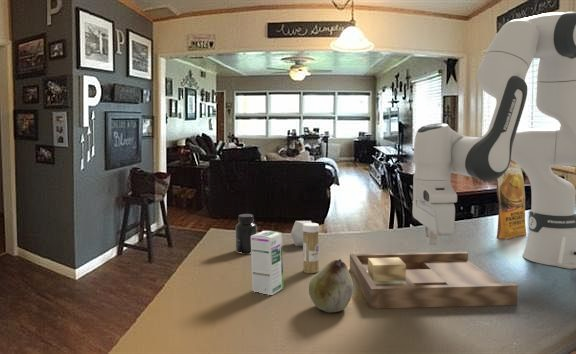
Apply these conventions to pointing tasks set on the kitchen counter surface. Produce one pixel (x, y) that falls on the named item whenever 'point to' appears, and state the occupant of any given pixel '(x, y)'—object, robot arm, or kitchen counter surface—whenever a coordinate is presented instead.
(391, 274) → the maple block
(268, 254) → the syrup box
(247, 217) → the supplement bottle
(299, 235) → the die
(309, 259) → the sprinkles bottle
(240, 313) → the kitchen counter surface
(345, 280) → the fruit
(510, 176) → the pancake mix bag
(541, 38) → the robot arm
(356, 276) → the box
